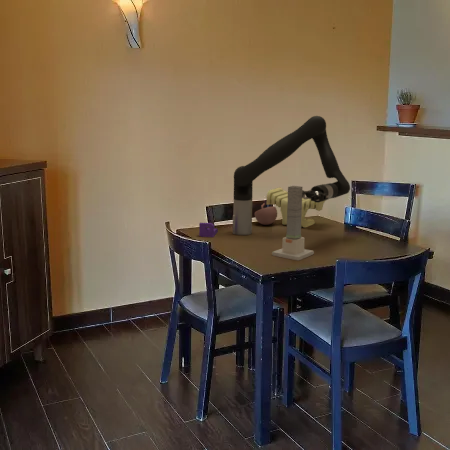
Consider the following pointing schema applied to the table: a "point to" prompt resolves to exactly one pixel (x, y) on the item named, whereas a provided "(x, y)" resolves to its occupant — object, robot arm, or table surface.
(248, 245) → the table surface
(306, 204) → the slatted curved stool
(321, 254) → the table surface
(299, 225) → the column
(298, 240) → the stand
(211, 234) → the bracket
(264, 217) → the mortar and pestle
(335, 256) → the table surface
